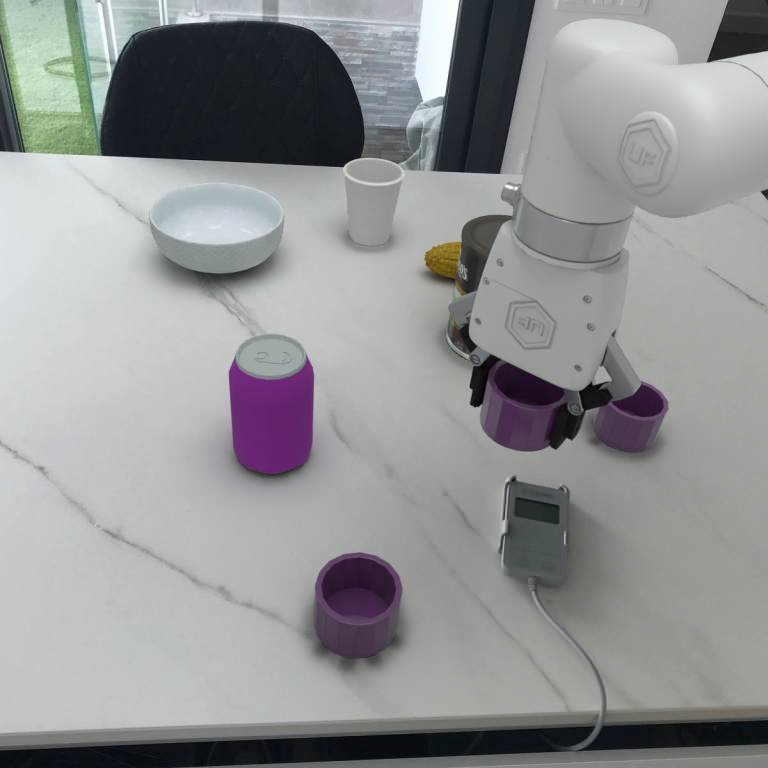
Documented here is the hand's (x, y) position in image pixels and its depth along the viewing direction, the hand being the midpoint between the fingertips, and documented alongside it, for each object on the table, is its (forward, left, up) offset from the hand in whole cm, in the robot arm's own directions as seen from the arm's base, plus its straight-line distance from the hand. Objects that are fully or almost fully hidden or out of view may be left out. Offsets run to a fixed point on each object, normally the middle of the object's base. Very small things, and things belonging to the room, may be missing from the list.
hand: (520, 417), depth 63 cm
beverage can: (+11, +19, -13) cm, 26 cm away
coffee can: (+27, -8, -13) cm, 31 cm away
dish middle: (0, 0, -1) cm, 1 cm away
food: (+40, -14, -13) cm, 44 cm away
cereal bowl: (+48, +23, -13) cm, 55 cm away
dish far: (+10, -18, -13) cm, 24 cm away
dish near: (-9, +14, -13) cm, 21 cm away
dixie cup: (+53, +2, -13) cm, 55 cm away
